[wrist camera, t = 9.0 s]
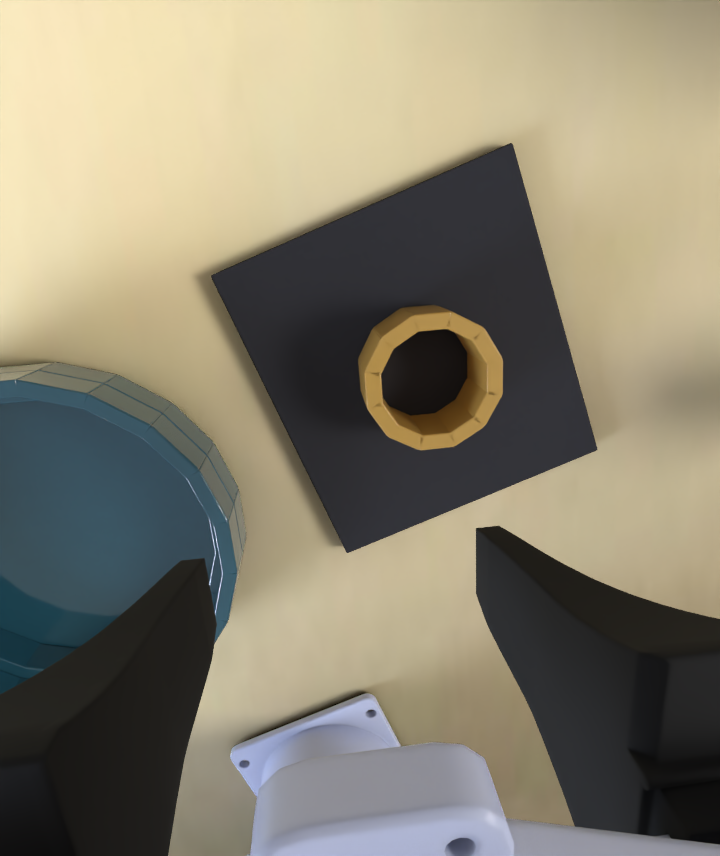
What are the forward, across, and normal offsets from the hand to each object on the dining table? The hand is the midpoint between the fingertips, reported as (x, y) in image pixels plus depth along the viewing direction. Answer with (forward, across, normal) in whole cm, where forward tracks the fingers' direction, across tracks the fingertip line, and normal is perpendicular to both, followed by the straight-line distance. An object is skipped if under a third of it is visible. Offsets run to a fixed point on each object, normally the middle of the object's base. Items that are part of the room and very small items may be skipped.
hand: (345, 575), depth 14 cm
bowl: (+9, +11, +2) cm, 15 cm away
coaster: (+9, -4, -3) cm, 11 cm away
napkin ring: (+9, -4, -3) cm, 10 cm away
